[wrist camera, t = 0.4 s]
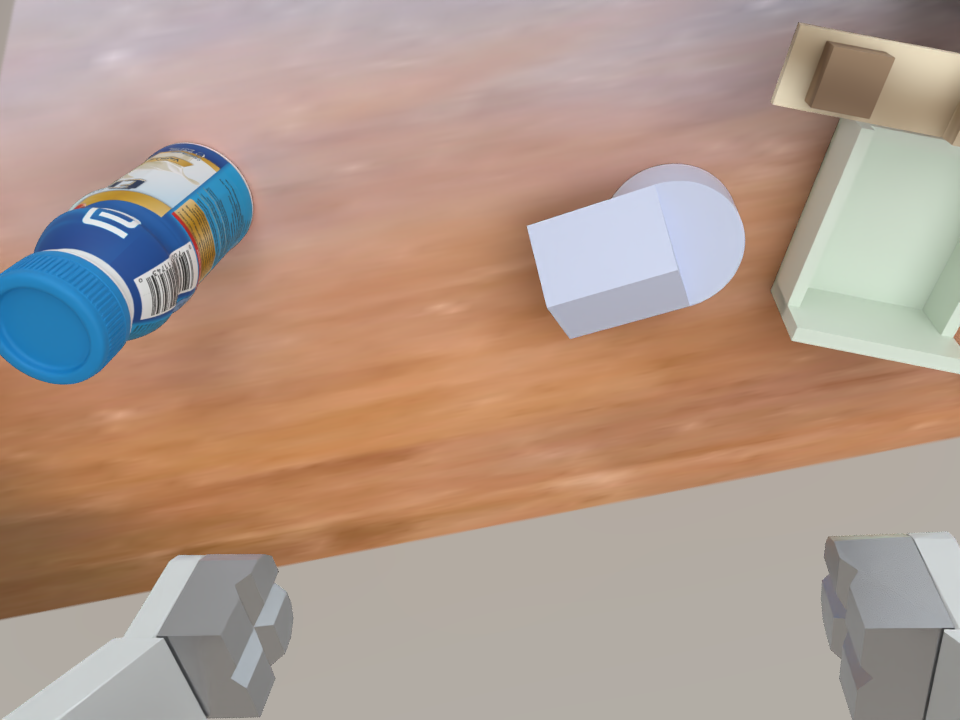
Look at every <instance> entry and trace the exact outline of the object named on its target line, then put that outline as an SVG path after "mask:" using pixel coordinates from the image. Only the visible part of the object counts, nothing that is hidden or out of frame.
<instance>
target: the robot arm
mask: <svg viewBox="0 0 960 720" xmlns="http://www.w3.org/2000/svg"><path fill="white" fill-rule="evenodd" d="M824 559H825V562H826V565H827V568H828V571H829V575H828V576H826V577H825V578H824V579H823V580H822V591H821V602H822V614H823V622H824V626H825V631H826V635H827V639H828V642H829V646H830V649H831V651H833V652H834V653H835V654H836V655H837V656H838V657H840V658H841V667H840V678H839V679H840V682H841V685H842V689H843V692H844V695H845V698H846V701H847V704H848V708H849V710H850V714H851V717H852V720H960V546H959V544H958V542H957V541H956V539H955V537H954V536H953V535H951V534H950V533H949V532H928V533H927V532H926V533H908V534H882V535H854V536H830V537H828V538H827V541H826V543H825V553H824ZM278 572H279V571H278V569H277V567H276V564H275V562H274V560H273V558H272V556H269V555H265V554H207V555H178V556H176V557H175V558H173V559H172V560H171V561H169V563H168V564H167V566H166V568H165V569H164V571H163V572H162V574H161V576H160V577H159V579H158V581H157V582H156V584H155V586H154V587H153V589H152V590H151V592H150V594H149V596H148V597H147V599H146V600H145V602H144V604H143V605H142V607H141V609H140V610H139V612H138V614H137V615H136V617H135V618H134V620H133V622H132V624H131V625H130V627H129V629H128V630H127V632H126V633H125V635H124V637H123V638H114V639H112V640H111V641H109V642H108V643H106V644H105V645H104V646H102V647H101V648H100V649H98V650H97V651H95V652H94V653H93V654H91V655H90V656H89V657H87V658H86V659H84V660H83V661H82V662H80V663H79V664H77V665H76V666H75V667H73V668H72V669H71V670H69V671H68V672H67V673H65V674H64V675H62V676H61V677H59V678H58V679H57V680H55V681H54V682H53V683H51V684H50V685H49V686H47V687H46V688H44V689H43V690H41V691H40V692H39V693H37V694H36V695H35V696H33V697H32V698H31V699H29V700H28V701H26V702H25V703H24V704H22V705H21V706H19V707H18V708H17V709H15V710H14V711H12V712H11V713H10V714H8V715H7V716H6V717H4V718H3V719H2V720H207V718H244V717H245V718H246V717H260V716H261V714H262V711H263V709H264V706H265V704H266V701H267V699H268V696H269V693H270V691H271V688H272V686H273V683H274V681H275V676H274V673H273V671H272V668H271V665H272V664H274V663H275V662H276V661H277V660H278V659H279V658H280V657H281V656H283V655H284V654H285V652H286V650H287V647H288V644H289V641H290V639H291V633H292V624H293V612H292V605H291V602H290V599H289V596H288V594H287V592H286V591H285V590H284V589H282V588H281V587H280V586H278V585H277V584H276V583H274V581H275V579H276V576H277V574H278Z"/></svg>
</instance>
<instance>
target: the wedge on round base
mask: <svg viewBox="0 0 960 720" xmlns="http://www.w3.org/2000/svg"><path fill="white" fill-rule="evenodd" d="M527 229H528V233H529V237H530V241H531V245H532V249H533V253H534V257H535V261H536V265H537V269H538V273H539V278H540V282H541V286H542V290H543V294H544V298H545V302H546V306H547V309H548V310H549V311H550V313H551V314H552V315H553V317H554V318H555V319H556V321H557V322H558V323H559V325H560V326H561V327H562V329H563V330H564V332H565V333H566V334H567V336H568V337H569V338H570V339H572V338H576V337H579V336H583V335H587V334H590V333H594V332H598V331H601V330H605V329H608V328H612V327H616V326H619V325H623V324H627V323H630V322H634V321H638V320H641V319H645V318H648V317H652V316H656V315H659V314H663V313H667V312H670V311H674V310H678V309H681V308H685V307H688V306H692V305H695V304H698V303H700V302H702V301H704V300H706V299H708V298H710V297H712V296H713V295H715V294H716V293H717V292H719V291H720V290H721V289H722V288H723V287H724V286H725V285H726V284H727V283H728V282H729V281H730V280H731V278H732V277H733V276H734V274H735V273H736V271H737V269H738V267H739V265H740V263H741V260H742V257H743V253H744V248H745V232H744V227H743V223H742V221H741V218H740V216H739V213H738V211H737V209H736V206H735V204H734V202H733V199H732V197H731V195H730V193H729V192H728V190H727V188H726V187H725V186H724V185H723V184H722V183H721V181H719V180H718V179H717V178H716V177H715V176H713V175H712V174H710V173H709V172H707V171H705V170H703V169H700V168H698V167H694V166H691V165H685V164H664V165H659V166H655V167H651V168H648V169H646V170H644V171H641V172H640V173H638V174H636V175H634V176H633V177H631V178H630V179H629V180H627V181H626V182H625V183H624V184H623V185H622V186H621V187H620V188H619V189H618V190H617V192H616V193H615V194H614V195H613V197H612V199H609V200H606V201H602V202H599V203H596V204H593V205H590V206H587V207H584V208H581V209H578V210H575V211H572V212H568V213H565V214H562V215H559V216H556V217H553V218H550V219H547V220H544V221H541V222H537V223H534V224H531V225H528V226H527Z"/></svg>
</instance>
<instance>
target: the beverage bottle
mask: <svg viewBox="0 0 960 720" xmlns="http://www.w3.org/2000/svg"><path fill="white" fill-rule="evenodd" d="M252 217H253V200H252V195H251V192H250V189H249V186H248V184H247V182H246V180H245V178H244V177H243V175H242V174H241V172H240V171H239V170H238V168H237V167H236V166H235V165H234V164H233V163H232V162H231V161H230V160H229V159H227V158H226V157H225V156H224V155H222V154H221V153H219V152H217V151H216V150H214V149H211V148H209V147H207V146H204V145H200V144H195V143H176V144H172V145H169V146H166V147H164V148H162V149H160V150H159V151H157V152H156V153H154V154H153V155H151V156H150V157H149V158H148V159H147V160H146V161H145V162H144V163H143V164H141V165H140V166H138V167H137V168H135V169H134V170H132V171H131V172H129V173H128V174H126V175H125V176H123V177H122V178H120V179H119V180H117V181H115V182H114V183H112V184H111V185H109V186H108V187H106V188H103V189H99V190H96V191H93V192H91V193H89V194H87V195H86V196H84V197H83V198H81V199H80V200H79V201H77V202H76V203H75V204H74V205H73V206H72V207H71V208H70V209H69V211H68V212H65V213H63V214H61V215H60V216H58V217H57V218H55V219H54V220H53V221H52V222H51V223H50V224H49V225H48V226H47V227H46V229H45V230H44V232H43V233H42V235H41V237H40V238H39V240H38V242H37V245H36V247H35V250H34V253H33V254H31V255H28V256H26V257H25V258H23V259H22V260H20V261H19V262H17V263H15V264H14V265H12V266H11V267H9V268H8V269H7V270H5V271H4V272H2V273H1V274H0V355H1V356H2V357H3V358H4V359H5V360H6V361H7V362H9V363H10V364H11V365H12V366H14V367H15V368H16V369H18V370H19V371H21V372H23V373H25V374H26V375H28V376H30V377H33V378H35V379H38V380H41V381H44V382H48V383H53V384H74V383H79V382H82V381H84V380H87V379H88V378H90V377H92V376H94V375H95V374H97V373H98V372H100V371H101V370H102V369H103V368H104V367H105V366H106V365H107V364H108V362H109V361H110V360H111V359H112V358H113V357H114V356H115V355H116V354H117V353H118V352H119V351H120V350H121V348H122V347H123V346H124V345H125V343H126V341H128V340H133V339H136V338H139V337H142V336H144V335H147V334H149V333H151V332H153V331H155V330H156V329H158V328H159V327H160V326H162V325H163V324H164V323H165V322H166V321H167V320H168V318H169V317H170V316H171V314H172V313H174V312H175V311H177V310H178V309H180V308H181V307H182V306H183V305H184V304H185V303H186V302H187V301H188V300H189V299H190V298H191V297H192V295H193V294H194V292H195V290H196V289H197V286H198V284H199V283H200V282H201V281H202V280H203V279H204V278H205V277H206V275H207V274H208V273H209V272H210V271H211V270H212V269H213V268H214V267H215V266H216V264H217V263H218V262H219V261H220V260H221V259H222V258H223V257H224V256H225V255H226V253H227V252H228V251H229V250H231V249H232V248H233V247H234V246H236V245H237V244H238V243H239V242H240V241H241V240H242V238H243V237H244V236H245V235H246V233H247V231H248V230H249V227H250V225H251V222H252Z"/></svg>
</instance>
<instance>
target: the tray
mask: <svg viewBox="0 0 960 720" xmlns="http://www.w3.org/2000/svg"><path fill="white" fill-rule="evenodd" d="M771 293H772V295H773V298H774V300H775V303H776V305H777V307H778V310H779V312H780V314H781V317H782V319H783V322H784V324H785V326H786V329H787V331H788V333H789V336H790V338H791V341H796V342H801V343H806V344H811V345H816V346H821V347H826V348H831V349H836V350H841V351H846V352H851V353H856V354H861V355H867V356H872V357H877V358H882V359H887V360H892V361H897V362H902V363H907V364H912V365H917V366H922V367H927V368H932V369H937V370H942V371H947V372H952V373H957V374H960V346H959V345H958V343H957V342H956V341H955V339H954V338H953V337H954V335H955V333H956V331H957V330H958V328H959V326H960V147H958V146H953V145H951V144H950V143H949V142H947V141H946V140H945V139H943V138H942V137H937V136H932V135H927V134H922V133H916V132H911V131H906V130H901V129H896V128H891V127H886V126H880V125H875V124H870V123H865V122H860V121H855V120H849V119H844V118H840V120H839V122H838V125H837V127H836V130H835V132H834V134H833V137H832V139H831V142H830V144H829V147H828V149H827V152H826V154H825V157H824V159H823V162H822V164H821V167H820V169H819V172H818V174H817V177H816V179H815V182H814V184H813V187H812V189H811V192H810V194H809V196H808V199H807V201H806V204H805V206H804V209H803V211H802V214H801V216H800V219H799V221H798V224H797V226H796V229H795V231H794V234H793V236H792V239H791V241H790V244H789V246H788V249H787V251H786V254H785V256H784V258H783V261H782V263H781V266H780V268H779V271H778V273H777V276H776V278H775V281H774V283H773V286H772V288H771Z"/></svg>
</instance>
